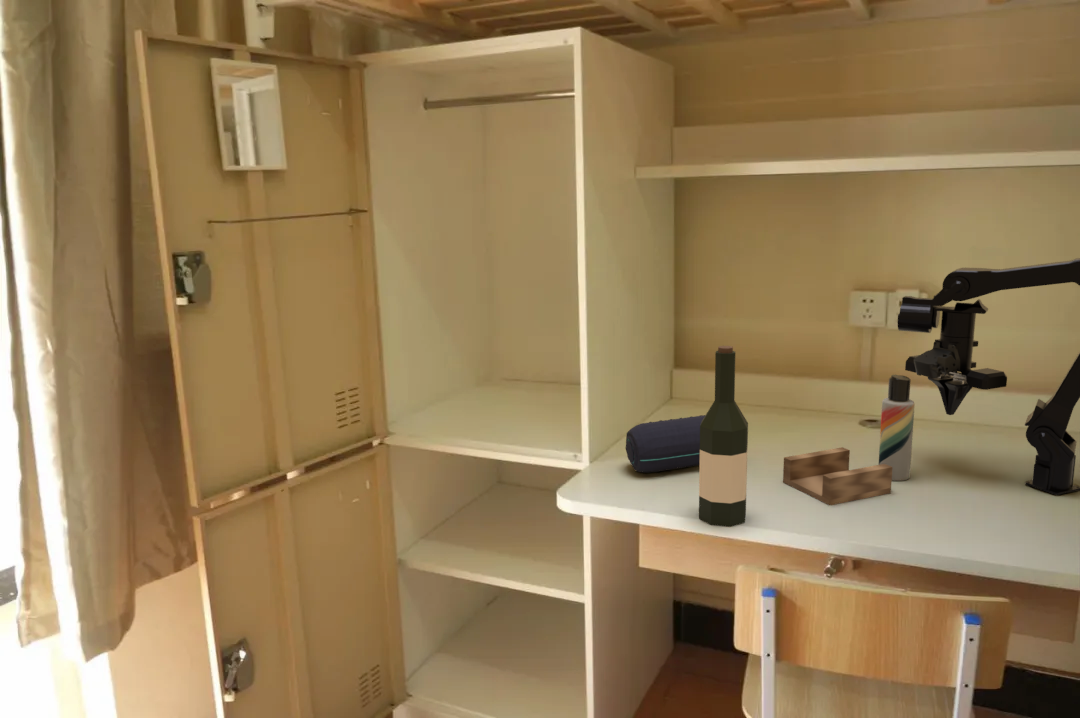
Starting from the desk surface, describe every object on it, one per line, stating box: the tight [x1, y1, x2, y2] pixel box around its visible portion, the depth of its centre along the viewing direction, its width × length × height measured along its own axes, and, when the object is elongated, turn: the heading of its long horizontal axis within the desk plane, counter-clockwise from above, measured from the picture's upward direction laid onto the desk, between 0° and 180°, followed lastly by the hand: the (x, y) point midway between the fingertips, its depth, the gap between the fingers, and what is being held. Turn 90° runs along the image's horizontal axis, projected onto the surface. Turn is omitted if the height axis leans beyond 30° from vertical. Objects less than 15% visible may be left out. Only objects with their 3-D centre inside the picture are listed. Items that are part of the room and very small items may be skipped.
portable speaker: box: [625, 414, 706, 474], centre depth 169 cm, size 25×10×10 cm, turn 109°
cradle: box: [782, 446, 893, 506], centre depth 155 cm, size 14×13×5 cm
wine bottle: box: [698, 345, 749, 528], centre depth 140 cm, size 8×8×30 cm
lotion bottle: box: [878, 374, 916, 482], centre depth 158 cm, size 6×6×20 cm
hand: (950, 414), depth 160 cm, fingers closed
